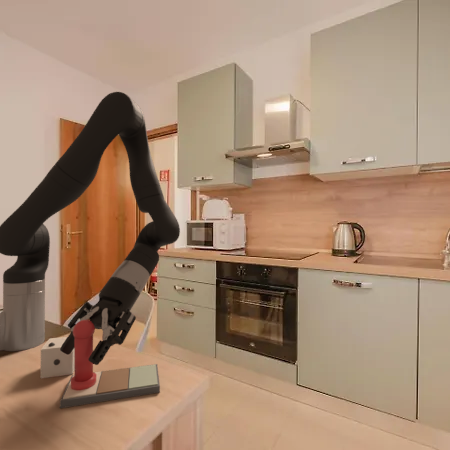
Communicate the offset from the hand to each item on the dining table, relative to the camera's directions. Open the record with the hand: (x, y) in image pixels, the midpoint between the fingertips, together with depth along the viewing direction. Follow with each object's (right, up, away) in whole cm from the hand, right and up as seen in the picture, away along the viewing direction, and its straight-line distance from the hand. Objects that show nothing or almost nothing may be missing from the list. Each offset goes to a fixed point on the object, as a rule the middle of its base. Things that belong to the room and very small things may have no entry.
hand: (77, 357), depth 54 cm
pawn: (+1, -6, +1) cm, 6 cm away
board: (+6, -7, +3) cm, 9 cm away
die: (-9, -7, +9) cm, 15 cm away
